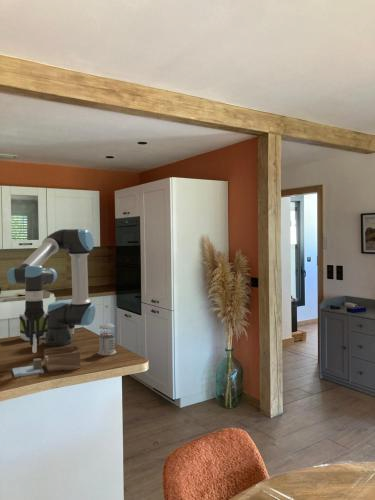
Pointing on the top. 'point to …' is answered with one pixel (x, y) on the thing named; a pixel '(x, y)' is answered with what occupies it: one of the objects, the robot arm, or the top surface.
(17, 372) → the grey l-shaped block
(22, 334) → the tea box
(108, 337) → the french press
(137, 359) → the top surface
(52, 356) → the lid box
